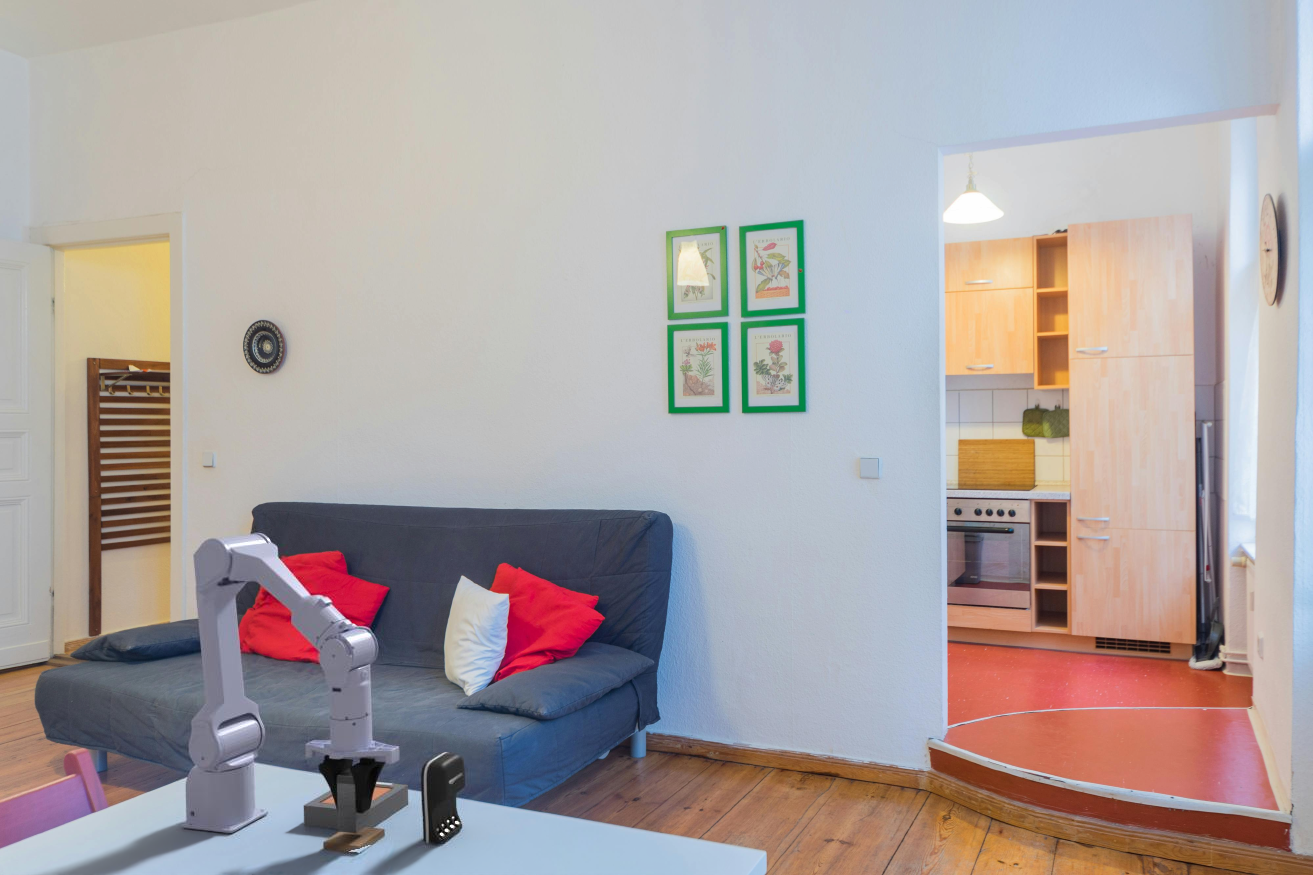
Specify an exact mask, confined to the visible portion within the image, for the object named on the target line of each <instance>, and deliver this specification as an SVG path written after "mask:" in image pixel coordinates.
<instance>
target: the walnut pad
mask: <svg viewBox="0 0 1313 875" xmlns="http://www.w3.org/2000/svg"><path fill="white" fill-rule="evenodd" d="M385 831H386V830H385V828H380V827H379V828H378V827H373V828H371V827H365V828H364V829H362V830H361V831H359V832H358V833H347V832H336V833H335V834H333V835H332V836H330V837H329V838H328V839H326V840H324V841H323V842H322V846H323V847H322V848H323V850H328V851H335V852H343V853H344V852H345V853H350V852H349V851H351V850H355V849H360V848H362V847H365V846H368V845H371V846H372V845H373V844H375V843H377V842H378V841H380V840H381V839H383V838H384V837H385V836H386V835H385V834H386V833H385Z"/></svg>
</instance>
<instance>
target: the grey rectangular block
mask: <svg viewBox="0 0 1313 875" xmlns="http://www.w3.org/2000/svg"><path fill="white" fill-rule="evenodd" d="M336 783H337V802H338V829H337V830H338V832H347V833H358V832H359V831H361V830H362V829H364V828H365V827H367V826H368V825H369V810H367V811H365V812H364V813H358V810H357V803H356V789H355V784H354V780H353V776H352V774H351V771H350V768H349V769H347V770H345V771H343V772H342V773H340V774H338V775H337V776H336ZM338 832H337V833H338Z"/></svg>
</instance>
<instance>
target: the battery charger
mask: <svg viewBox="0 0 1313 875" xmlns="http://www.w3.org/2000/svg"><path fill="white" fill-rule="evenodd" d="M464 760H465V759H464V758H463V756H462V755H460V754H457V753H453V752H452V753H450V752H447V751H445V752H441V753H439V754H437V755H435V756H434V757H432V758H429V759H428V760H427V761H426V762H425V763H424V764H423V766H422V768H421V773H420V790H421V791H420V792H421V793H420V794H421V796H420V797H421V813H422V837H423V838H422V841H423V842H424V843H426V844H435V845H436V844H444V843H445V842H447V841H448V840H449V839H451V838H452V837H454V836H455V835H457V833H459V832H460V831H461V830H462V829H463V823H462V821H461V818H460V816H459V814H458V813H459V812H458V809H457V793H460V791H461V790H463V789H464V788H466V770H465V769H466V768H465V761H464Z"/></svg>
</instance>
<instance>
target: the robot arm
mask: <svg viewBox="0 0 1313 875" xmlns="http://www.w3.org/2000/svg"><path fill="white" fill-rule="evenodd" d="M193 566H194V568H193V569H194V576H195V597H196V598H195V599H196V610H197V619H198V631H199V642H200V651H201V664H202V673H203V674H202V675H203V676H202V677H203V687H204V697H205V698H204V699H205V703H204V705H203V706H202V707H201V709H200V710H199V711H198V712H197V713H196V714H195V715H194V717H193V718H192V719H191V721H190V724H191V726H190V727H191V732H190V733H191V734H190V738H189V741H188V752H189V757H190V759H191V760H192V762H193V764H195V765H194V766H193V767H192V768H191V769H190V771H189V772H188V774H187V777H186V781H185V817H186V822H183V823H182V825H181V827H182V828H183V829H190V830H191V829H193V830H198V831H199V830H201V831H206V832H207V831H209V832H218V833H227V834H232V833H235V832H236V831H238V830H240V829H242V828H244V827H245V826H248V825H249V824H251V823H254V822H255V821H256V820H258V819H260V818H262V817H264V816H266V815H267V814H268V813H269V810H268V809H261V808H256V795H255V794H256V793H255V791H256V790H255V789H256V788H255V787H256V786H255V760H254V759H255V758H258V750H260V749H261V748H262V747H263V744H264V743H265V738H266V729H265V725H264V723H263V720H262V719H261V716H260V713H259V705H258V704H257V703H256V702H255V701H253V700H251V699H250V698H248V697H246V696H245V688H244V687H245V686H244V675H243V674H244V673H243V665H242V654H241V653H242V652H241V645H240V635H239V634H240V633H239V624H238V614H237V610H238V609H237V604H236V603H237V602H236V601H237V599H236V596H237V594H238V593H239V592H240V591H241V590H242V589H243V588H244V587H245V585H246V584H247V583H248V582H249V583H250V582H256V583H258V584H259V585H260V587H262V588H264V589H265V590H266V591H267V592H268V593H269V594H271V595H272V596H273V597H274V599H276V600H278V602H280V603H281V604H282V605H283V606H284V607H285V608H287V609H288V610H289V611H290V612H291V620H290V622H291V624H292V626H293V627H294V628H295V629H296V630H297V631H299V633H300V634H301V635H302V636H303V637H304V638H305V639H306V640H307V641H308V642H309V643H310V644H311V645H312V646H313V647H314V648H315V649H316V650H317V651H318V652H319V653H318V654H317V656H318V658H317V659H318V663H319V664H320V667H321V669H322V670H323V672H324V674H325V675H324V676H325V683H326V684H327V687H328V696H329V697H328V698H329V699H328V700H329V732H330V736H329V738H330V739H326V740H325V739H324V740H321V739H320V740H318V739H314V740H312V741H309V742H307V743H305V758H307V759H308V758H311V759H312V758H314V757H318V758H319V757H320V758H324V759H323V760H322V762H321V763H319V764H318V771H319V773H321V775H322V776H323V778H324V779H325V781H326V784H327V785H328V787H329V791H330V790H331V793H332V796H333V799H334V802H335V805H336V809H337V811H338V802H337V783H336V776H337V775H338V774H340V773H342V772H343V771H345V770H347V769H349V768H350V771H351V774H352V776H353V780H354V784H355V789H356V803H357V810H358V813H364V812H365V811H367V810H369V809H370V807H371V802H372V797H373V793H374V789H375V785H376V782H378V779H379V777H380V774H381V772H382V770H383V768H384V766H385V765H393V764H395V763H397V762H398V761H400V746H397V745H391V744H387V743H383V742H380V741H376V740H373V716H372V715H373V714H372V682H371V681H372V680H371V678H372V677H371V664H373V663H374V661H376V659H377V657H378V655H379V644H378V640H377V638H376V635H375V634H374V633H373V631H372V629H371V628H369V627H367V626H362V625H361V626H360V625H359V626H358V625H356V624H355V623H352V622H351V620H350V619H347V618H346V617H345V616H344V615H343V614H342V613H341V612H340V611H339V610H338V608H336V607H335V606H334V605H333V604H332V603H333V601H332V599H330V598H329V597H328V596H324V595H321V594H314V595H311V594H310V592H309V591H308V590H307V589H306V588H305V587H304V586H303V584H302V583H301V582H300V581H299V580H298V578H296V576H295V575H294V573H292V572H291V570H289V568H288V567H287V566H286V565H285V563H284V562H283V561H282V560H281V559H280V558H279V548H278V546H277V545H276V544H275V543H273V542H272V541H271V539H270V538H269V537H268V536H267V535H266V534H264V533H261V532H254V533H250V534H244V535H236V536H235V535H234V536H228V537H219V538H218V537H217V538H215V537H211V538H208V539H206V540H204V541H203V542H202V543H201V544H200V546H199V547H198V549H197V550H196V551H195V552H194V553H193ZM354 760H356V761H357V760H358V761H359V762H357V763H355V764H353V762H354Z"/></svg>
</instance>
